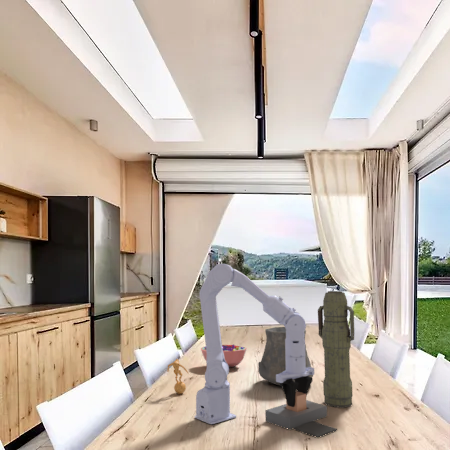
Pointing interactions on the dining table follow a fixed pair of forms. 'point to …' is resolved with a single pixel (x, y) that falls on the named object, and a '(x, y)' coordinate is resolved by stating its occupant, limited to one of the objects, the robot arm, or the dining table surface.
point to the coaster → (315, 429)
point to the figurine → (179, 386)
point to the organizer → (295, 415)
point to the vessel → (275, 355)
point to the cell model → (230, 354)
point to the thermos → (336, 348)
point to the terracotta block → (298, 402)
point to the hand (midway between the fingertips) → (296, 404)
